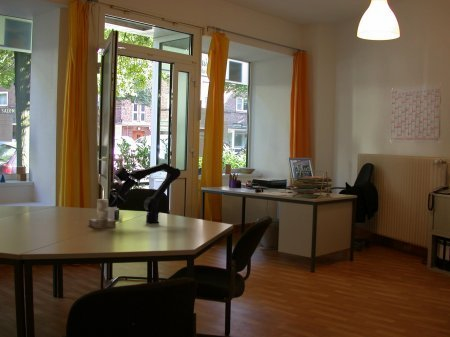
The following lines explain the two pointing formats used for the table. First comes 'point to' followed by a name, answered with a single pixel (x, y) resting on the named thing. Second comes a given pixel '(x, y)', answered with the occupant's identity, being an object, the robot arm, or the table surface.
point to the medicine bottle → (113, 212)
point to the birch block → (102, 209)
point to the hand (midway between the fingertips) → (108, 205)
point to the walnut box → (102, 223)
